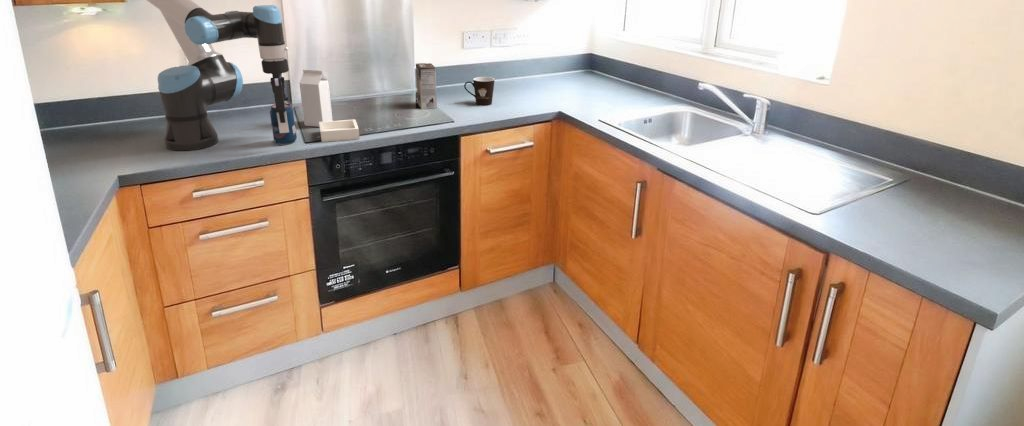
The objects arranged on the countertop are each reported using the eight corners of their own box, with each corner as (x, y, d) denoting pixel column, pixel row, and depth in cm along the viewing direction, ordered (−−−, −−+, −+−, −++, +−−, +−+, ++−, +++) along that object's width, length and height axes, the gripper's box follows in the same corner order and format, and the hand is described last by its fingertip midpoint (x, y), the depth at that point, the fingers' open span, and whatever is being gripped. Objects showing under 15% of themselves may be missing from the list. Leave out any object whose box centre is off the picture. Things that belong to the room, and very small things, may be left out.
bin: (321, 142, 195) (320, 131, 194) (320, 131, 205) (319, 121, 204) (359, 139, 199) (358, 128, 197) (356, 129, 209) (355, 119, 208)
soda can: (270, 144, 191) (265, 107, 187) (279, 138, 198) (274, 102, 193) (291, 145, 191) (286, 108, 186) (300, 139, 197) (295, 103, 192)
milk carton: (323, 127, 210) (317, 72, 202) (304, 126, 212) (297, 71, 204) (332, 122, 217) (327, 68, 209) (314, 120, 218) (308, 67, 210)
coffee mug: (498, 103, 247) (498, 78, 242) (486, 107, 240) (486, 82, 236) (475, 99, 252) (475, 75, 248) (463, 103, 245) (462, 78, 241)
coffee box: (417, 103, 243) (415, 63, 237) (433, 102, 245) (431, 62, 239) (420, 109, 235) (419, 67, 229) (437, 108, 237) (435, 66, 231)
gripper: (286, 65, 174) (297, 136, 182) (287, 52, 196) (296, 116, 204) (259, 66, 172) (271, 138, 180) (262, 53, 193) (273, 118, 202)
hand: (284, 126), depth 192 cm, fingers open, 13 cm apart
